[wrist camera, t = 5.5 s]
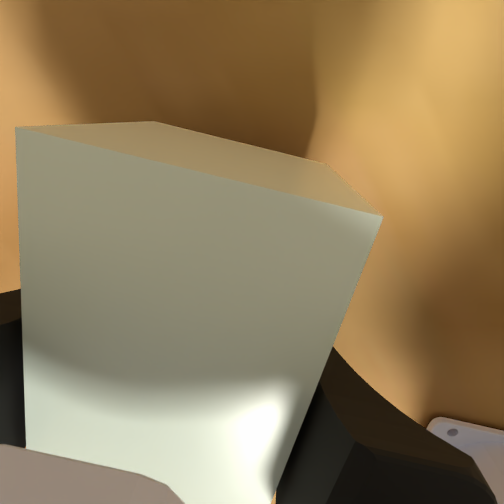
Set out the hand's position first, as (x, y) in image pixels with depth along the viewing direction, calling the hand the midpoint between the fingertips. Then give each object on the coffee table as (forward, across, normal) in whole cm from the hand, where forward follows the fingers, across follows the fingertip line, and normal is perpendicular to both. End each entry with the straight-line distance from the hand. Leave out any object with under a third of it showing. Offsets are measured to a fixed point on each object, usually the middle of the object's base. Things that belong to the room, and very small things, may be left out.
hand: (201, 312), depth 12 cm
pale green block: (+2, 0, 0) cm, 2 cm away
